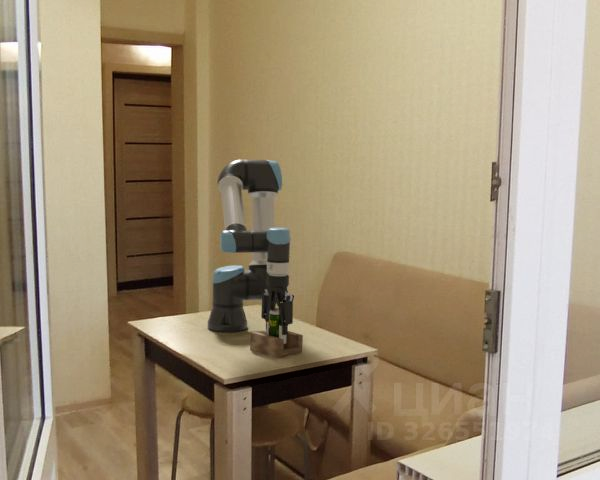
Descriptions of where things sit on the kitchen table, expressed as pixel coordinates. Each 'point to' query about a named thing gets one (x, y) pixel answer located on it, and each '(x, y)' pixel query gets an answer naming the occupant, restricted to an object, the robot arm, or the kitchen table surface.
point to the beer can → (274, 322)
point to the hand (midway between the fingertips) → (276, 341)
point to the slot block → (276, 344)
